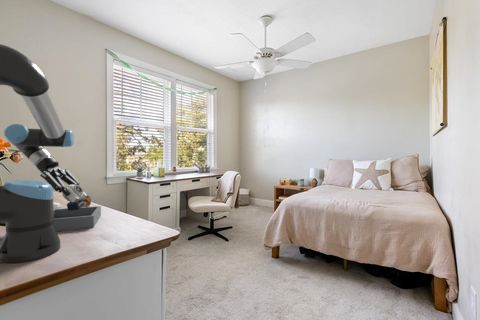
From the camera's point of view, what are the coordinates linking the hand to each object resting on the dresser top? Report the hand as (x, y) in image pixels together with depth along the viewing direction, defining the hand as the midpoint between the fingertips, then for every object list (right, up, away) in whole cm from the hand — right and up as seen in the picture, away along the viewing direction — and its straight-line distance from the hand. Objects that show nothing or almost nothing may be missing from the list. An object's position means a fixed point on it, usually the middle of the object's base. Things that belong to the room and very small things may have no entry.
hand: (80, 198), depth 108 cm
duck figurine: (-27, -11, +14) cm, 32 cm away
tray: (-4, -11, 0) cm, 12 cm away
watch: (-3, -5, +2) cm, 6 cm away
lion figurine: (-11, -11, +16) cm, 22 cm away
